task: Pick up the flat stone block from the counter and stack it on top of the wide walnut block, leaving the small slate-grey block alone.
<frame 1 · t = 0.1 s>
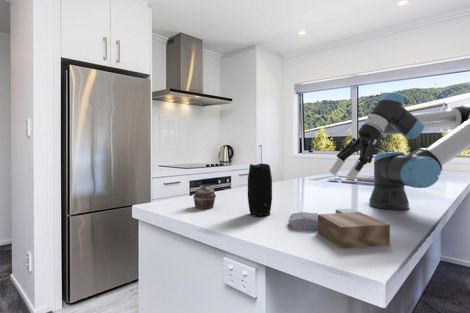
hand: (340, 175, 108), 15 cm above the counter, tool tilted 35°, fingers open, 13 cm apart
walnut block: (351, 239, 84), on the counter
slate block: (348, 225, 97), on the counter
stone block: (303, 226, 98), on the counter
portable speaker: (259, 215, 112), on the counter
cupcake: (204, 207, 126), on the counter
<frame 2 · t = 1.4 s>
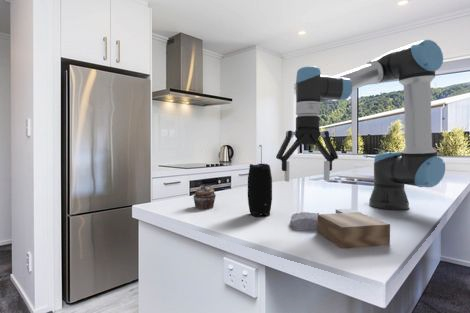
hand: (306, 181, 96), 15 cm above the counter, tool pointing down, fingers open, 13 cm apart
nothing on the counter moved.
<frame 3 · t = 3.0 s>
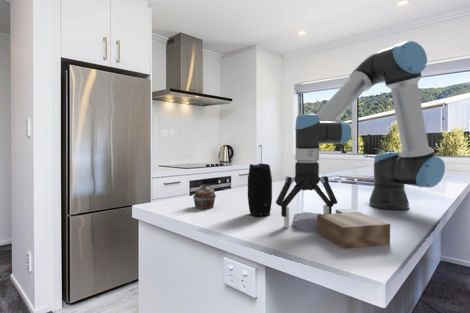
hand: (306, 225, 96), 0 cm above the counter, tool pointing down, fingers open, 13 cm apart
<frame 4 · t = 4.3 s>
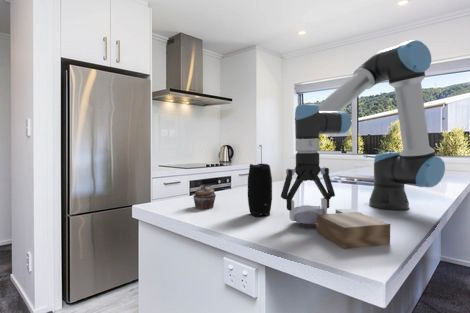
hand: (308, 218, 96), 2 cm above the counter, tool pointing down, fingers closed on stone block, 10 cm apart
stone block: (306, 219, 98), point 2 cm above the counter, touching gripper
everything else where it was.
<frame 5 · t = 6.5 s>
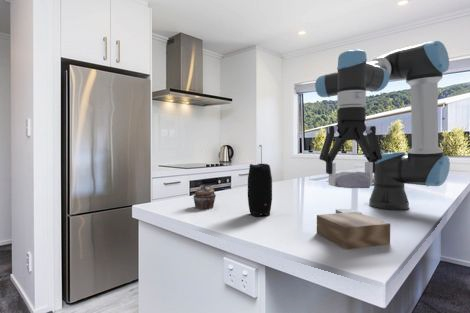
hand: (350, 184, 83), 15 cm above the counter, tool pointing down, fingers closed on stone block, 10 cm apart
stone block: (348, 186, 85), point 15 cm above the counter, touching gripper
everything else where it was.
when the fingers open (7 cm above the counter, at t = 8.5 s): stone block stays where it is, resting on walnut block.
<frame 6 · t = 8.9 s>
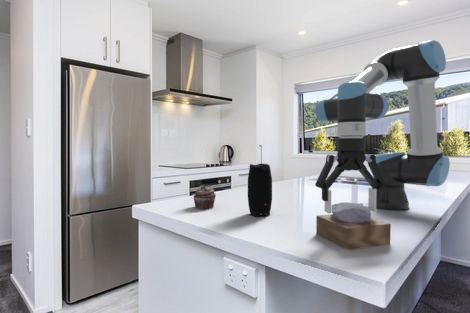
hand: (350, 211, 84), 8 cm above the counter, tool pointing down, fingers open, 13 cm apart
walnut block: (351, 240, 84), on the counter, touching stone block
stone block: (348, 218, 85), point 5 cm above the counter, touching walnut block
everything else where it was.
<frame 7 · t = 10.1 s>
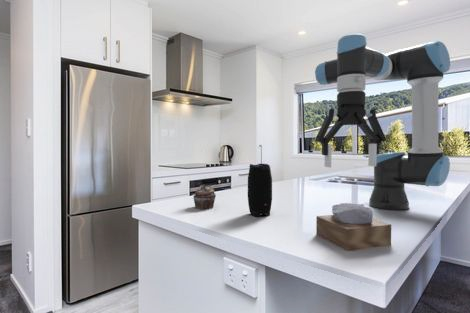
hand: (350, 166, 84), 21 cm above the counter, tool pointing down, fingers open, 13 cm apart
stone block: (349, 219, 84), point 5 cm above the counter, touching walnut block
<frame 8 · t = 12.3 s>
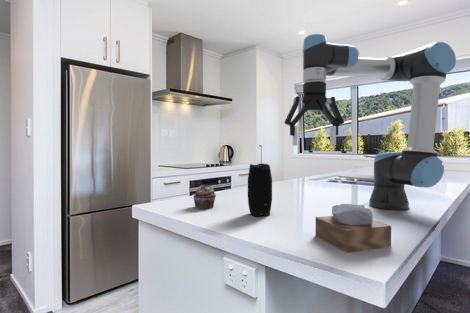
hand: (314, 145, 99), 27 cm above the counter, tool pointing down, fingers open, 13 cm apart
walnut block: (351, 242, 82), on the counter, touching stone block
stone block: (349, 220, 83), point 5 cm above the counter, touching walnut block
everything else where it was.
at the end: stone block inside the target area on the walnut block (1.4 cm from its centre), point 5.8 cm above the walnut block's base; stone block tilted 0°; the gripper is holding nothing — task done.
